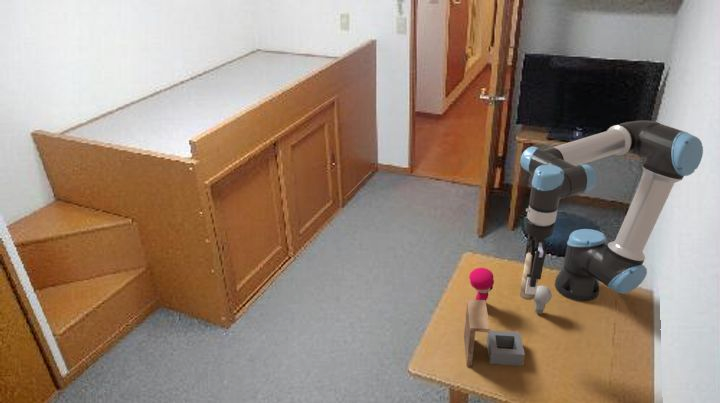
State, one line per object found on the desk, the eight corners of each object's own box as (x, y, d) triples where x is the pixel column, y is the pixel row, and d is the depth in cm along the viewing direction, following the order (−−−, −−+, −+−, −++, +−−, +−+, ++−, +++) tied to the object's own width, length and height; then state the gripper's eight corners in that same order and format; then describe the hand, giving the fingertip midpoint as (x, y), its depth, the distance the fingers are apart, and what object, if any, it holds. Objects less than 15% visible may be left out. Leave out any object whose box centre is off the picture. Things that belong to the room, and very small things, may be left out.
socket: (518, 342, 174) (519, 332, 172) (522, 365, 165) (524, 354, 163) (486, 341, 175) (488, 330, 173) (489, 363, 166) (491, 352, 164)
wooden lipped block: (481, 337, 176) (485, 300, 169) (485, 367, 165) (489, 329, 158) (464, 336, 177) (467, 299, 169) (466, 366, 166) (470, 327, 158)
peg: (533, 291, 164) (540, 252, 157) (536, 300, 160) (543, 260, 153) (518, 290, 164) (525, 251, 158) (520, 299, 160) (527, 260, 154)
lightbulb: (548, 320, 183) (553, 294, 177) (530, 317, 184) (534, 292, 179) (547, 308, 188) (551, 282, 183) (528, 306, 189) (533, 280, 184)
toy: (493, 314, 186) (497, 278, 179) (468, 314, 186) (472, 279, 179) (488, 298, 193) (492, 263, 186) (464, 298, 194) (468, 264, 186)
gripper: (521, 204, 158) (511, 270, 169) (532, 236, 143) (520, 306, 154) (548, 205, 157) (536, 271, 168) (561, 237, 142) (547, 307, 153)
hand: (528, 288), depth 161 cm, fingers closed on peg, 4 cm apart
